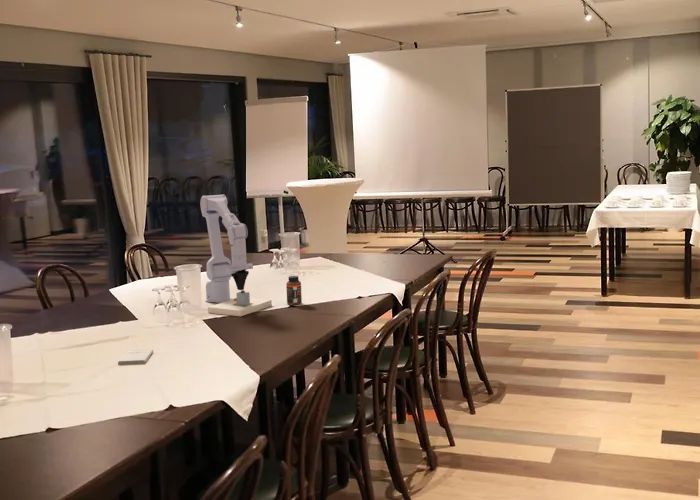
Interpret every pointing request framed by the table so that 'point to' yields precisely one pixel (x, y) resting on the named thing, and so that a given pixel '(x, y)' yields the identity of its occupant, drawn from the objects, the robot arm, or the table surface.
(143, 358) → the external hard drive
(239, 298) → the plug
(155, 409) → the table surface
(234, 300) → the socket plate
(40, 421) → the table surface
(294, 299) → the supplement bottle
